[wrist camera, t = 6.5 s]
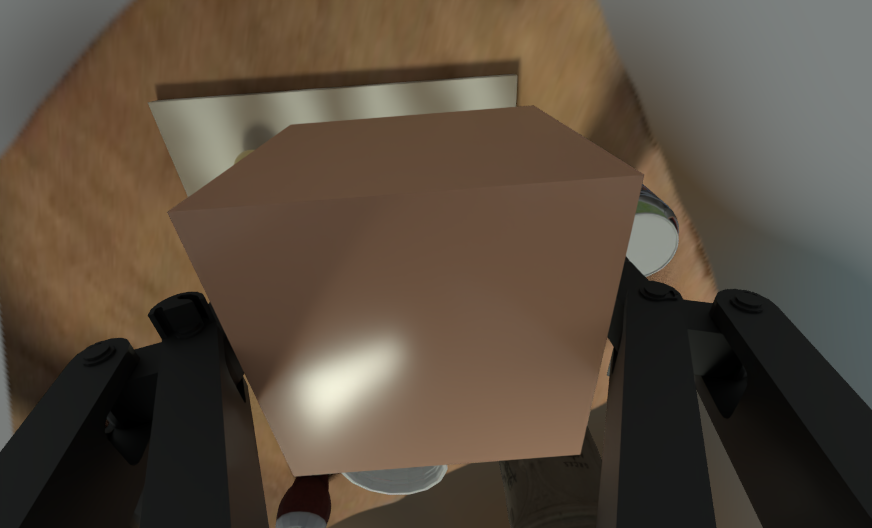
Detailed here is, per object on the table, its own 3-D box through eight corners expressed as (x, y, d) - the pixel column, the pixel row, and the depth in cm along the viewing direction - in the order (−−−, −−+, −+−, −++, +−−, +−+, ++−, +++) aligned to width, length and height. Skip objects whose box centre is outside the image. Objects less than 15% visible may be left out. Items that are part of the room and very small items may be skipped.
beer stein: (484, 340, 44) (524, 541, 28) (573, 342, 45) (663, 539, 28) (468, 417, 53) (490, 604, 36) (542, 417, 54) (597, 601, 37)
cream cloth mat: (241, 304, 40) (237, 311, 39) (157, 100, 29) (147, 102, 28) (505, 283, 40) (507, 290, 39) (513, 74, 30) (517, 75, 29)
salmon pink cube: (339, 314, 19) (294, 476, 12) (290, 124, 14) (167, 212, 7) (521, 300, 19) (580, 454, 12) (533, 105, 14) (644, 175, 7)
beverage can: (617, 216, 37) (696, 286, 26) (541, 222, 36) (591, 295, 26) (630, 151, 33) (726, 202, 23) (547, 157, 33) (606, 212, 23)
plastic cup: (351, 337, 43) (331, 431, 33) (445, 341, 44) (454, 434, 34) (352, 400, 48) (335, 498, 38) (435, 403, 49) (441, 499, 39)
